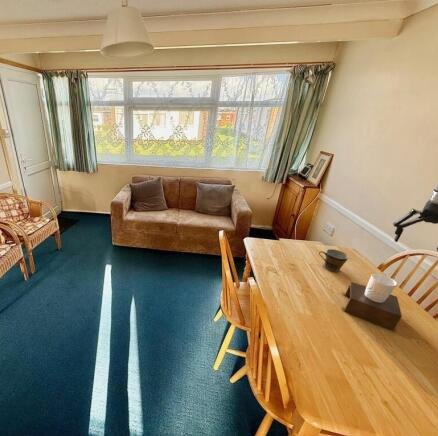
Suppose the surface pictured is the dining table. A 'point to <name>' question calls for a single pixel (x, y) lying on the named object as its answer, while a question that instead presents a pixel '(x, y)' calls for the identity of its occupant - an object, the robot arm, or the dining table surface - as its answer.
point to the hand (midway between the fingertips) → (416, 245)
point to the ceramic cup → (334, 259)
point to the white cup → (379, 288)
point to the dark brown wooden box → (372, 307)
